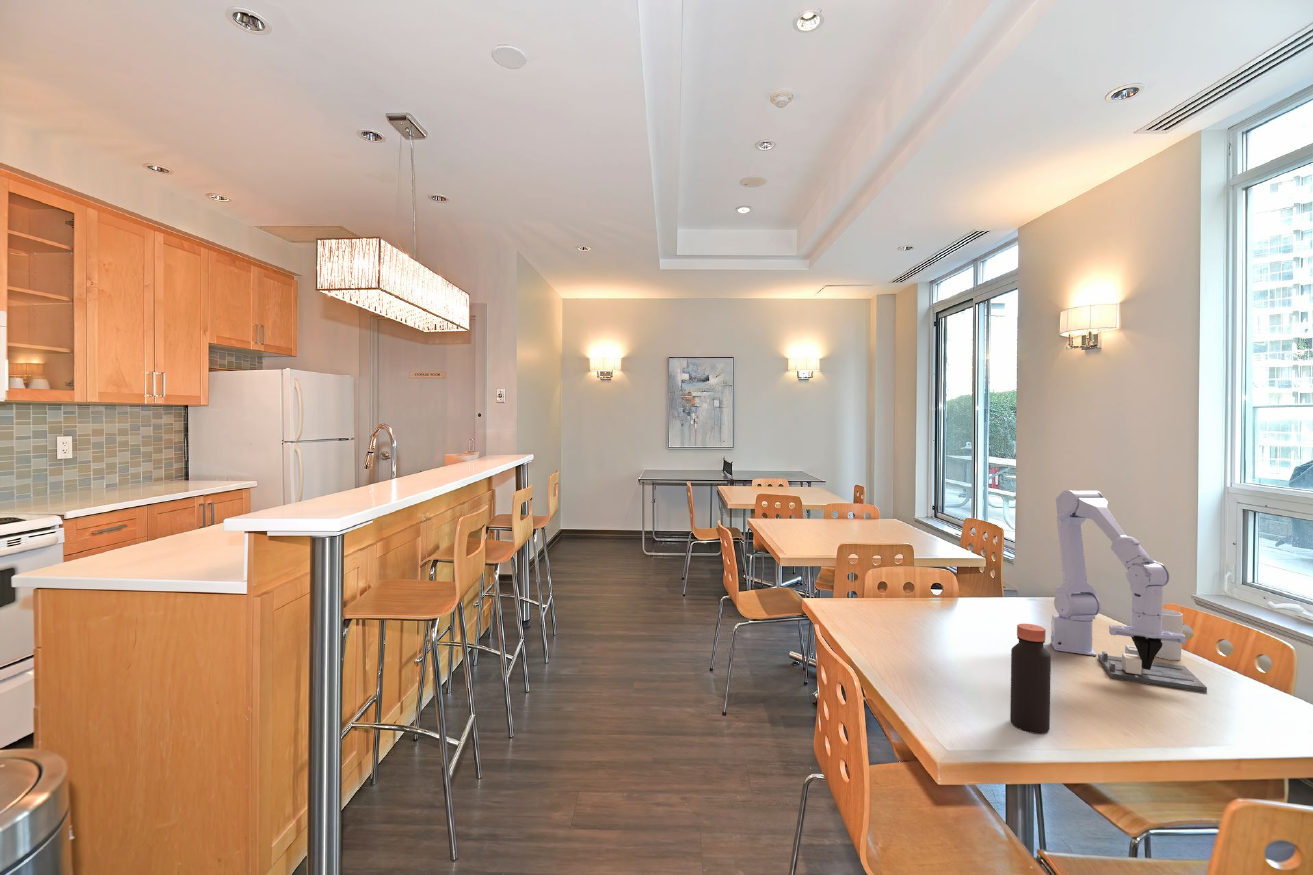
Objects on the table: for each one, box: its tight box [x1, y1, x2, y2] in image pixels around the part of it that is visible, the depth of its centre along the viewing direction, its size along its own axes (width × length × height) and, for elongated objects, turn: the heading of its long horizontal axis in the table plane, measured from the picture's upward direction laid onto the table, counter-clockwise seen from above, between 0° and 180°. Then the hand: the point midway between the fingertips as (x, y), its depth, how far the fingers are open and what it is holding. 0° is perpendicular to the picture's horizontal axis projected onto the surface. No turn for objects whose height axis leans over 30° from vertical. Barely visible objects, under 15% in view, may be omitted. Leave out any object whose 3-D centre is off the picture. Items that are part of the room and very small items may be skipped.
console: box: [1097, 650, 1208, 694], centre depth 152 cm, size 18×15×3 cm
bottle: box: [1009, 623, 1052, 734], centre depth 124 cm, size 7×7×20 cm
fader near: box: [1121, 652, 1142, 675], centre depth 151 cm, size 3×4×4 cm
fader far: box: [1124, 644, 1140, 658], centre depth 157 cm, size 3×4×4 cm
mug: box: [1155, 608, 1184, 661], centre depth 167 cm, size 10×7×12 cm, turn 154°
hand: (1145, 668), depth 149 cm, fingers closed
